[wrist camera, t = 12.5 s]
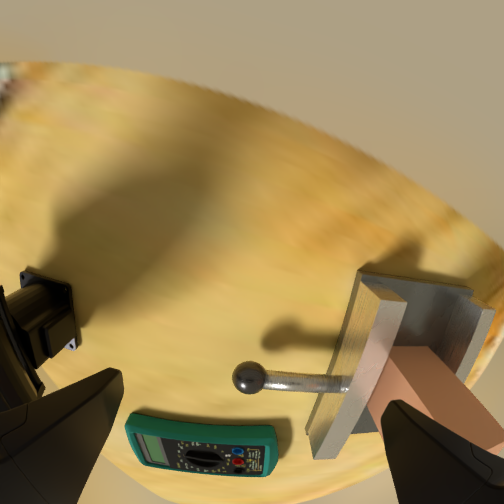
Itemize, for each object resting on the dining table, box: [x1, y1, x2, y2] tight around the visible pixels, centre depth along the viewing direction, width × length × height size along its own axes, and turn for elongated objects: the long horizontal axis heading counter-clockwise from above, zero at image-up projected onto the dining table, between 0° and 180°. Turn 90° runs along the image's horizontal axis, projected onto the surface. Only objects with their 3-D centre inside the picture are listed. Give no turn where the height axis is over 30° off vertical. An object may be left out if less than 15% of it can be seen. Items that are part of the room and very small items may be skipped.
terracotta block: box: [366, 346, 504, 455], centre depth 14 cm, size 5×5×12 cm
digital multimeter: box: [125, 413, 279, 477], centre depth 22 cm, size 7×15×3 cm, turn 89°
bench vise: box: [232, 270, 496, 460], centre depth 19 cm, size 20×16×4 cm
